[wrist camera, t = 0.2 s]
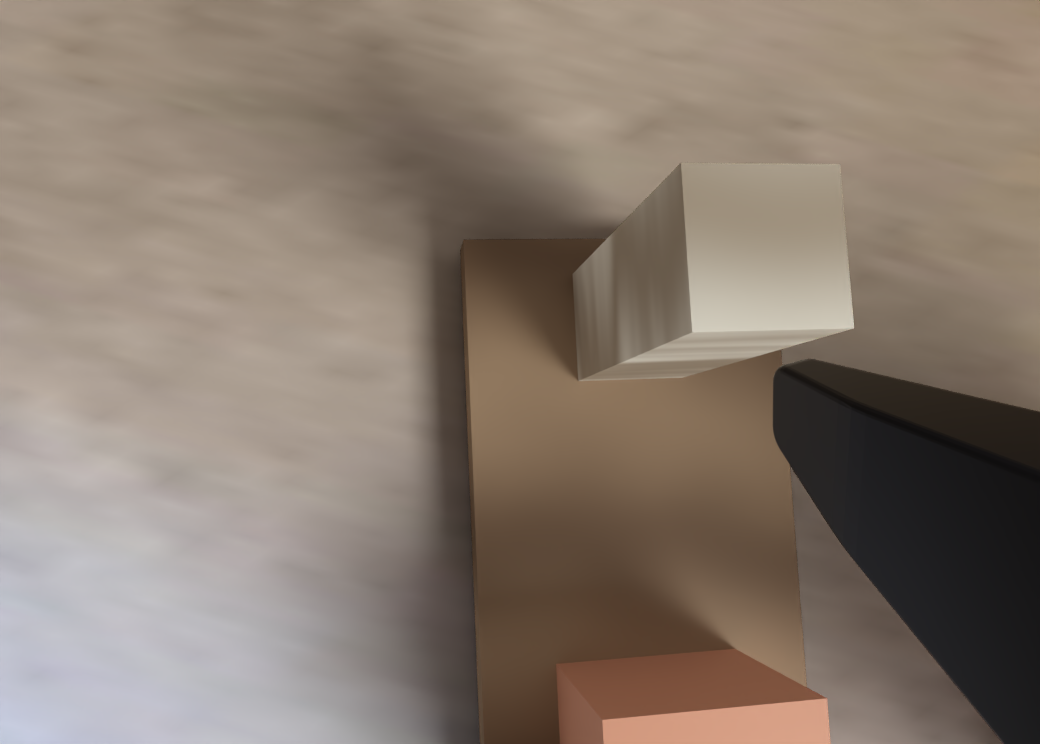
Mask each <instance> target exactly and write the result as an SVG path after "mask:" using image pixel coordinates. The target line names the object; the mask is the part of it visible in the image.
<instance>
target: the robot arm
mask: <svg viewBox="0 0 1040 744" xmlns="http://www.w3.org/2000/svg"><path fill="white" fill-rule="evenodd" d="M773 433H774V437H775V440H776V443H777V445H778V447H779V449H780V450H781V452H782V453H783V455H784V456H785V458H786V460H787V461H788V463H789V464H790V466H791V467H792V469H793V470H794V472H795V474H796V475H797V477H798V478H799V480H800V481H801V483H802V484H803V486H804V488H805V489H806V491H807V492H808V494H809V495H810V497H811V498H812V500H813V502H814V503H815V505H816V506H817V508H818V509H819V511H820V512H821V514H822V516H823V517H824V519H825V520H826V522H827V523H828V525H829V526H830V528H831V529H832V531H833V532H834V534H835V535H836V537H837V538H838V540H839V541H840V543H841V544H842V545H843V547H844V548H845V549H846V551H847V552H848V553H849V554H850V556H851V557H852V558H853V560H854V561H855V562H856V563H857V565H858V566H859V567H860V568H861V570H862V571H863V572H864V573H865V574H866V576H867V577H868V578H869V579H870V581H871V582H872V583H873V584H874V585H875V587H876V588H877V589H878V590H879V592H880V593H881V594H882V595H883V597H884V598H885V599H886V600H887V601H888V603H889V604H890V605H891V606H892V608H893V609H894V610H895V611H896V612H897V614H898V615H899V616H900V617H901V619H902V620H903V621H904V622H905V624H906V625H907V626H908V627H909V628H910V630H911V631H912V632H913V633H914V635H915V636H916V637H917V638H918V639H919V641H920V642H921V643H922V644H923V646H924V647H925V648H926V649H927V651H928V652H929V653H930V654H931V655H932V657H933V658H934V659H935V660H936V662H937V663H938V664H939V665H940V666H941V668H942V669H943V670H944V671H945V673H946V674H947V675H948V676H949V678H950V679H951V680H952V681H953V682H954V684H955V685H956V686H957V687H958V689H959V690H960V691H961V692H962V693H963V695H964V696H965V697H966V698H967V700H968V701H969V702H970V703H971V705H972V706H973V707H974V708H975V709H976V711H977V712H978V713H979V714H980V716H981V717H982V718H983V719H984V720H985V722H986V723H987V724H988V725H989V727H990V728H991V729H992V730H993V732H994V733H995V734H996V735H997V736H998V738H999V739H1000V740H1001V741H1002V743H1003V744H1040V412H1039V411H1034V410H1030V409H1026V408H1021V407H1017V406H1013V405H1008V404H1004V403H1000V402H995V401H991V400H987V399H983V398H978V397H974V396H970V395H965V394H961V393H957V392H952V391H948V390H944V389H939V388H935V387H931V386H926V385H922V384H918V383H914V382H909V381H905V380H901V379H896V378H892V377H888V376H883V375H879V374H875V373H870V372H866V371H862V370H857V369H853V368H849V367H845V366H840V365H836V364H832V363H827V362H823V361H819V360H814V359H805V360H801V361H797V362H794V363H790V364H787V365H783V366H780V367H779V368H778V369H777V370H776V371H775V374H774V378H773Z"/></svg>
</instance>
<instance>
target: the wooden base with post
mask: <svg viewBox="0 0 1040 744" xmlns="http://www.w3.org/2000/svg"><path fill="white" fill-rule="evenodd" d="M460 256H461V281H462V307H463V332H464V357H465V382H466V407H467V432H468V457H469V482H470V507H471V532H472V557H473V583H474V608H475V633H476V658H477V683H478V708H479V733H480V744H560V734H559V714H558V693H557V673H556V664H561V663H573V662H584V661H596V660H608V659H620V658H632V657H643V656H655V655H667V654H679V653H690V652H702V651H714V650H726V649H736V650H738V651H740V652H742V653H744V654H746V655H748V656H749V657H751V658H753V659H755V660H757V661H759V662H761V663H762V664H764V665H766V666H768V667H770V668H772V669H773V670H775V671H777V672H779V673H781V674H783V675H785V676H786V677H788V678H790V679H792V680H794V681H796V682H798V683H799V684H801V685H803V686H805V687H807V682H806V669H805V656H804V643H803V630H802V617H801V604H800V591H799V578H798V565H797V552H796V539H795V526H794V512H793V499H792V486H791V473H790V464H789V463H788V461H787V460H786V458H785V456H784V455H783V453H782V452H781V450H780V449H779V447H778V445H777V443H776V440H775V437H774V433H773V378H774V374H775V371H776V370H777V369H778V368H779V367H780V366H782V355H781V349H784V348H788V347H791V346H794V345H798V344H801V343H805V342H808V341H812V340H815V339H819V338H822V337H826V336H829V335H833V334H836V333H840V332H843V331H847V330H850V329H854V321H853V309H852V297H851V286H850V274H849V262H848V250H847V239H846V227H845V215H844V203H843V192H842V180H841V168H840V164H766V163H680V164H679V165H678V166H677V167H676V168H675V169H674V171H673V172H672V173H671V174H670V175H669V176H668V177H667V178H666V179H665V180H664V181H663V182H662V183H661V184H660V185H659V186H658V187H657V188H656V189H655V190H654V191H653V192H652V193H651V194H650V195H649V196H648V197H647V198H646V199H645V200H644V201H643V202H642V203H641V204H640V205H639V206H638V207H637V208H636V209H635V211H634V212H633V213H632V214H631V215H630V216H629V217H628V218H627V219H626V220H625V221H624V222H623V223H622V224H621V225H620V226H619V227H618V228H617V229H616V230H615V231H614V232H613V233H612V234H611V235H610V236H609V237H608V238H607V239H485V240H464V241H463V244H462V247H461V250H460Z"/></svg>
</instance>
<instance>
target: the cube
mask: <svg viewBox="0 0 1040 744" xmlns="http://www.w3.org/2000/svg"><path fill="white" fill-rule="evenodd" d="M556 673H557V693H558V714H559V734H560V744H831V743H830V730H829V718H828V705H827V698H825V697H823V696H822V695H820V694H818V693H816V692H814V691H812V690H810V689H809V688H807V687H805V686H803V685H801V684H799V683H798V682H796V681H794V680H792V679H790V678H788V677H786V676H785V675H783V674H781V673H779V672H777V671H775V670H773V669H772V668H770V667H768V666H766V665H764V664H762V663H761V662H759V661H757V660H755V659H753V658H751V657H749V656H748V655H746V654H744V653H742V652H740V651H738V650H736V649H726V650H714V651H702V652H690V653H679V654H667V655H655V656H643V657H632V658H620V659H608V660H596V661H584V662H573V663H561V664H556Z"/></svg>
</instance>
